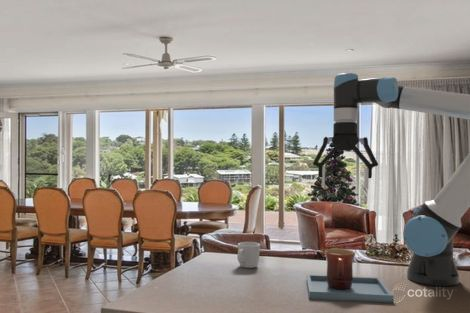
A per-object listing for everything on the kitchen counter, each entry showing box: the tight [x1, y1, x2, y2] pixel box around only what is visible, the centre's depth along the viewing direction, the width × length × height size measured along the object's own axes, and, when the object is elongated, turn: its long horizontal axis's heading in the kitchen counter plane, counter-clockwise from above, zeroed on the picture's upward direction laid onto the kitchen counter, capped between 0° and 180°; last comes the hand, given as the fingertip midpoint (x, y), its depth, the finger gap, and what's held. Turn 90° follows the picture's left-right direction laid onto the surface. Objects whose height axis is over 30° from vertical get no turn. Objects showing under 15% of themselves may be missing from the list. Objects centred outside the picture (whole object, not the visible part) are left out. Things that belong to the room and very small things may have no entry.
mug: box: [324, 248, 356, 290], centre depth 128 cm, size 12×9×10 cm
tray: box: [306, 274, 395, 304], centre depth 127 cm, size 22×18×2 cm
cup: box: [236, 241, 261, 269], centre depth 154 cm, size 11×8×8 cm
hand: (344, 188), depth 142 cm, fingers open, 13 cm apart
